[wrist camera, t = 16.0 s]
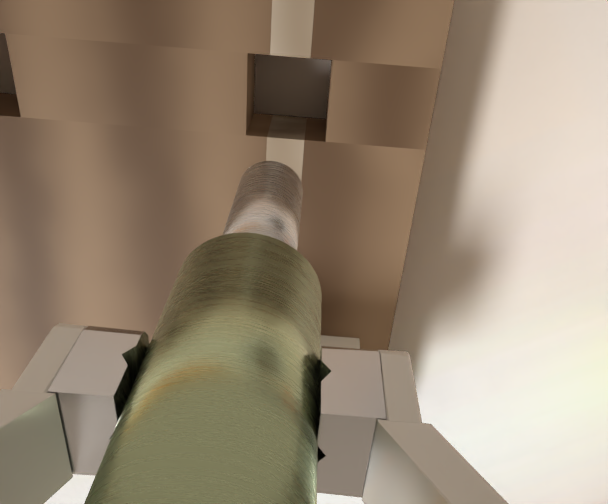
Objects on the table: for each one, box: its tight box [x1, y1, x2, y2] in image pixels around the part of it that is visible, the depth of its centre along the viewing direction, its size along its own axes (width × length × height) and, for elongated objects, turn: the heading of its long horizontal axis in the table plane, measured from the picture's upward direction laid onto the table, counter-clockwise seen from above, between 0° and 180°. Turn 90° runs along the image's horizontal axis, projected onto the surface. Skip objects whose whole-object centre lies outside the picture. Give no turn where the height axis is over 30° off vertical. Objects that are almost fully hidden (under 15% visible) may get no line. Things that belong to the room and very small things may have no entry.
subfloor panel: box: [0, 0, 454, 390], centre depth 29 cm, size 24×26×3 cm
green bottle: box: [84, 161, 322, 504], centre depth 11 cm, size 3×3×11 cm
